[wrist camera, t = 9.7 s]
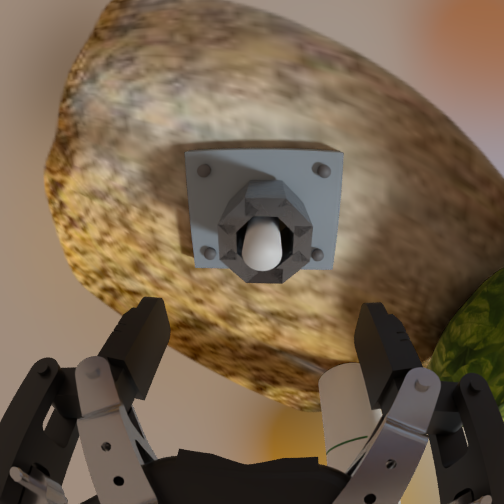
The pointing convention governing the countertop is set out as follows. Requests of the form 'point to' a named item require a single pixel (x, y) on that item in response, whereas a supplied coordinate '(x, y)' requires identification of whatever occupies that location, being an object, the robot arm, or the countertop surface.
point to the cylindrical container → (345, 414)
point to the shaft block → (260, 227)
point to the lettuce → (475, 340)
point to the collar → (269, 205)
